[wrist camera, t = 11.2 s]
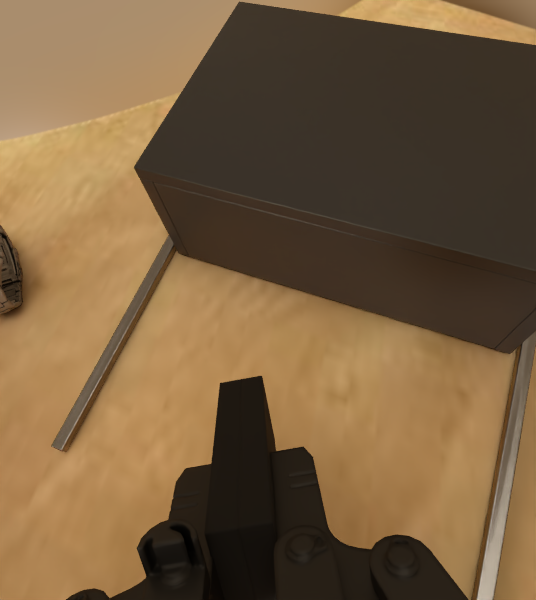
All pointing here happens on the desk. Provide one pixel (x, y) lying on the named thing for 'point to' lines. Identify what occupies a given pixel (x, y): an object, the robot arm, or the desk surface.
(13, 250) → the wristwatch
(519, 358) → the rails
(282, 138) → the cover
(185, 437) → the desk surface
